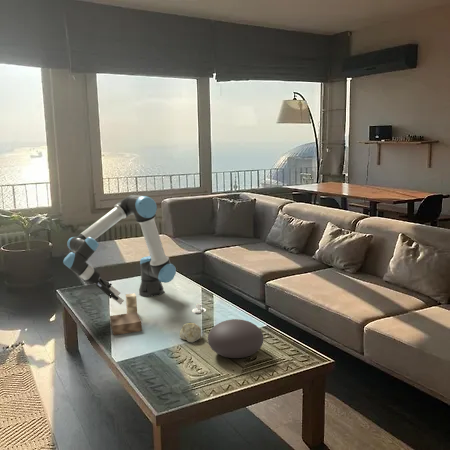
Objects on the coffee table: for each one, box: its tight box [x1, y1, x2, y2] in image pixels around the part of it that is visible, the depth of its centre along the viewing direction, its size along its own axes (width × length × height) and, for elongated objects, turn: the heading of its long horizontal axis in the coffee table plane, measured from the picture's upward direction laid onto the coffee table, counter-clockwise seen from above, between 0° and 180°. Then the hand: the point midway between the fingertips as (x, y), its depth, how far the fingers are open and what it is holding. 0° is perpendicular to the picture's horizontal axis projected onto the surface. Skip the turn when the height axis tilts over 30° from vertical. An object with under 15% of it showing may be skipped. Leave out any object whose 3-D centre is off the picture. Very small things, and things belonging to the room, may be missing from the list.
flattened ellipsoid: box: [207, 318, 264, 359], centre depth 220 cm, size 25×25×15 cm
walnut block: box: [109, 311, 143, 336], centre depth 253 cm, size 14×14×5 cm
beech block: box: [125, 292, 138, 314], centre depth 271 cm, size 5×5×11 cm
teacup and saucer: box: [191, 302, 207, 314], centre depth 275 cm, size 9×8×4 cm
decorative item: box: [178, 322, 202, 343], centre depth 240 cm, size 12×9×10 cm
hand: (120, 298), depth 268 cm, fingers open, 13 cm apart
